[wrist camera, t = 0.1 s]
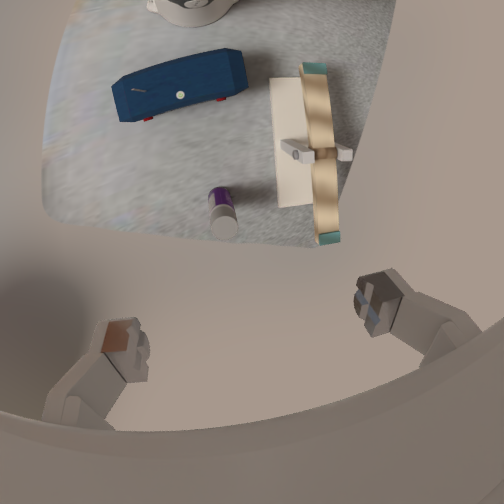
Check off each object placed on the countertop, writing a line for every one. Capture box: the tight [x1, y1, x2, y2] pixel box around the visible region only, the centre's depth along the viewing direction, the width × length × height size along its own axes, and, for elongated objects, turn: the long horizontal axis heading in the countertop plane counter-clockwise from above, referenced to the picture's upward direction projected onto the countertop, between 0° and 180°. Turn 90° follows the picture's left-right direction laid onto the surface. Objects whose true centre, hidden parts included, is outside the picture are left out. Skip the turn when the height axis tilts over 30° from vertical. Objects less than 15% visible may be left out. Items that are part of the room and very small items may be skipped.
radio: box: [111, 48, 249, 122], centre depth 35 cm, size 21×9×20 cm, turn 100°
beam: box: [299, 62, 340, 246], centre depth 43 cm, size 32×4×3 cm, turn 5°
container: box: [208, 187, 238, 240], centre depth 50 cm, size 5×5×15 cm
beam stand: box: [268, 77, 353, 208], centre depth 47 cm, size 28×11×15 cm, turn 5°
